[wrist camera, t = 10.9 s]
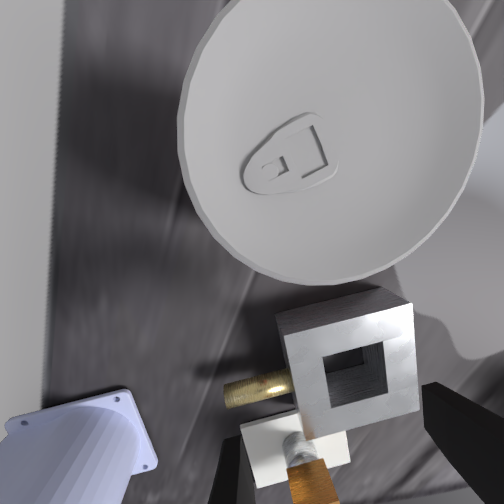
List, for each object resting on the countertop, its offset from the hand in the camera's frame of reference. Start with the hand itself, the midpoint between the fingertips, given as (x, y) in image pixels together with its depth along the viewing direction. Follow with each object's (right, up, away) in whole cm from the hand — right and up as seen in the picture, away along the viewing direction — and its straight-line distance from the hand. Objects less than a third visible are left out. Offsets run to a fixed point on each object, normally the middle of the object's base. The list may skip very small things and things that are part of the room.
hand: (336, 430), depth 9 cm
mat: (+1, -11, +12) cm, 16 cm away
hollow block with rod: (+2, -2, +11) cm, 11 cm away
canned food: (-2, +12, +8) cm, 14 cm away
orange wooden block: (+1, -10, +12) cm, 16 cm away
